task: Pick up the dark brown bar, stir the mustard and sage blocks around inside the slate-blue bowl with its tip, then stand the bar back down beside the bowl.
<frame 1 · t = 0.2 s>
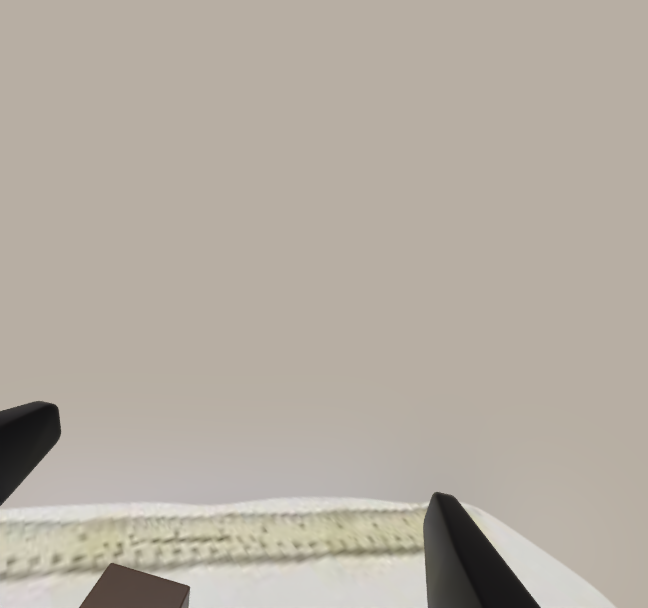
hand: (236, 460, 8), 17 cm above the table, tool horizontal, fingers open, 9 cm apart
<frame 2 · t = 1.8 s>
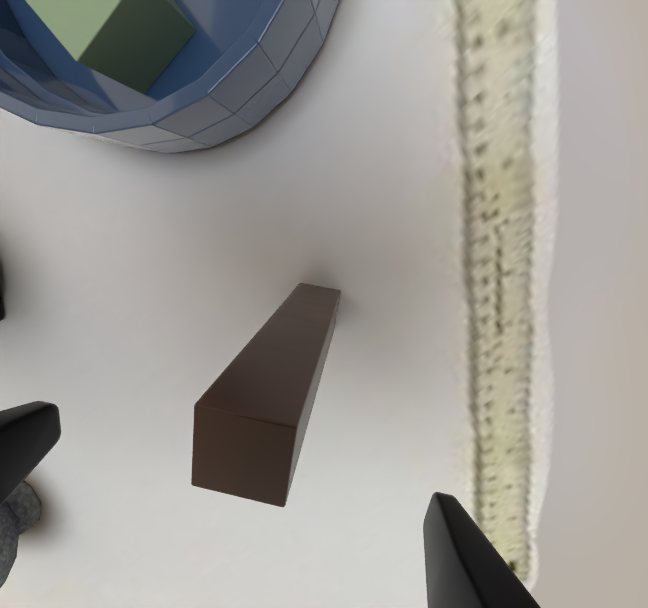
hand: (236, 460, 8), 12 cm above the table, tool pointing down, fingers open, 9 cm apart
dark brown bar: (317, 306, 19), on the table
mortar and pestle: (3, 495, 28), on the table
sage block: (140, 27, 15), point 1 cm above the table, touching bowl
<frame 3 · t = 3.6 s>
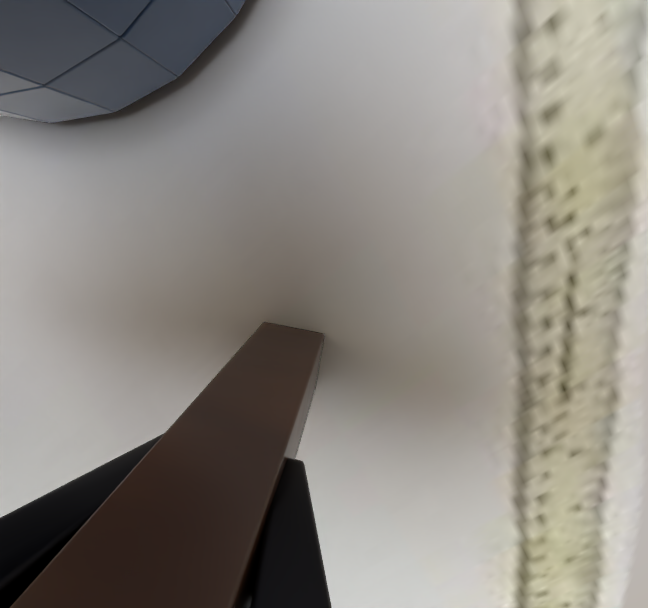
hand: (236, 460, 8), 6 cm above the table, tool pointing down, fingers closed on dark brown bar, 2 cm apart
dark brown bar: (290, 355, 13), on the table, touching gripper
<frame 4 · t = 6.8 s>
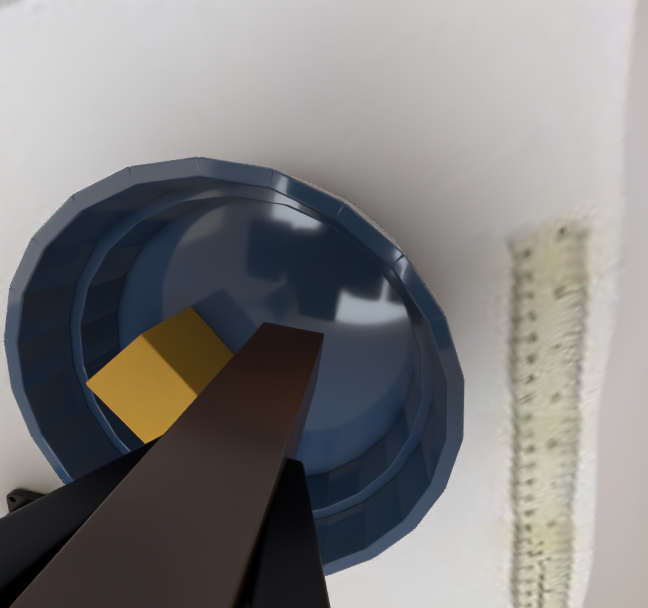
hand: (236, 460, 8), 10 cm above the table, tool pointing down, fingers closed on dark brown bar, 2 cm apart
dark brown bar: (290, 355, 13), point 4 cm above the table, touching gripper
bowl: (262, 352, 18), on the table
mustard block: (191, 354, 18), point 1 cm above the table, touching bowl
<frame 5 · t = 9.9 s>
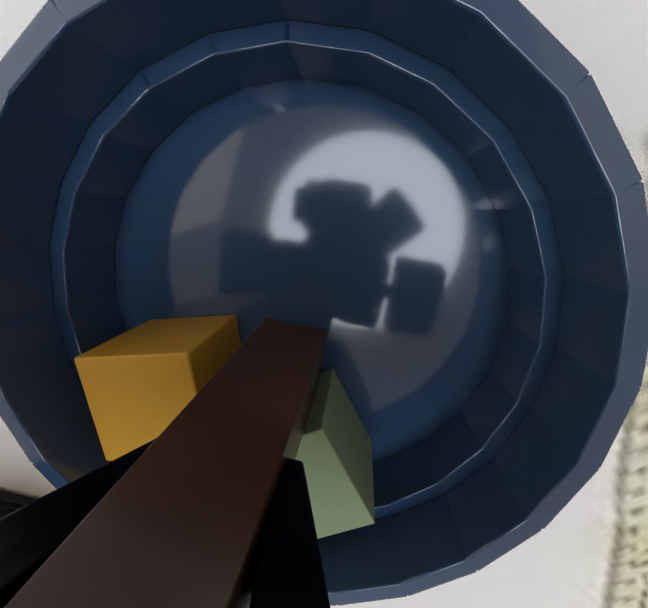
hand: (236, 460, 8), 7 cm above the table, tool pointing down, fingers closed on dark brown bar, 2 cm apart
dark brown bar: (292, 351, 13), point 2 cm above the table, touching gripper, sage block
bowl: (301, 301, 14), on the table
mustard block: (201, 359, 15), point 1 cm above the table, touching bowl
sage block: (312, 420, 15), point 1 cm above the table, touching bowl, dark brown bar
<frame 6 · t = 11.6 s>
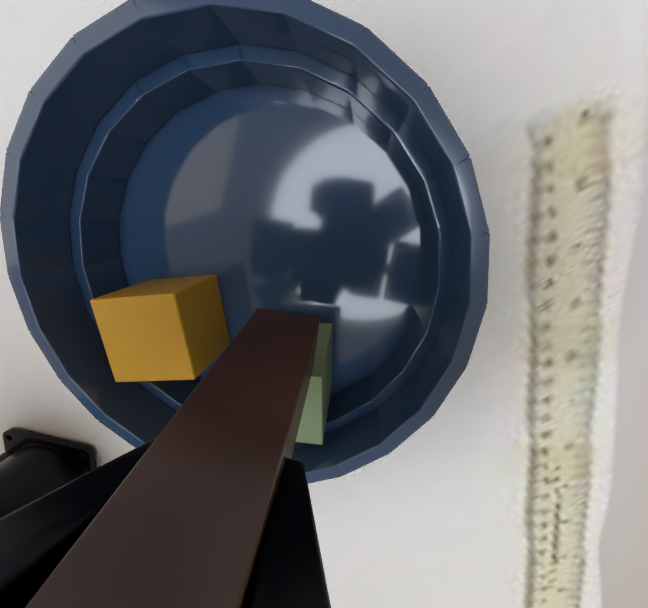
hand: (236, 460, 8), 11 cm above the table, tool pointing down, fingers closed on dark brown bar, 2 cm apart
dark brown bar: (285, 340, 13), point 5 cm above the table, touching gripper
bowl: (269, 263, 17), on the table
mustard block: (190, 312, 18), point 1 cm above the table, touching bowl
sage block: (295, 352, 17), point 1 cm above the table, tilted 12°, touching bowl
when the fingers open (5 cm above the table, at t = 15.6 s): dark brown bar stays where it is, on the table.
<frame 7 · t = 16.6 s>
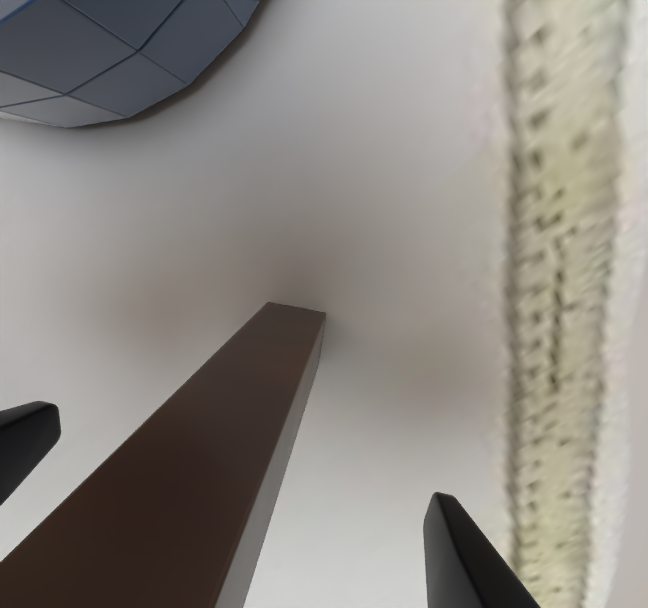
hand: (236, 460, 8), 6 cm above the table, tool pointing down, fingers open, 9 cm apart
dark brown bar: (293, 334, 13), on the table
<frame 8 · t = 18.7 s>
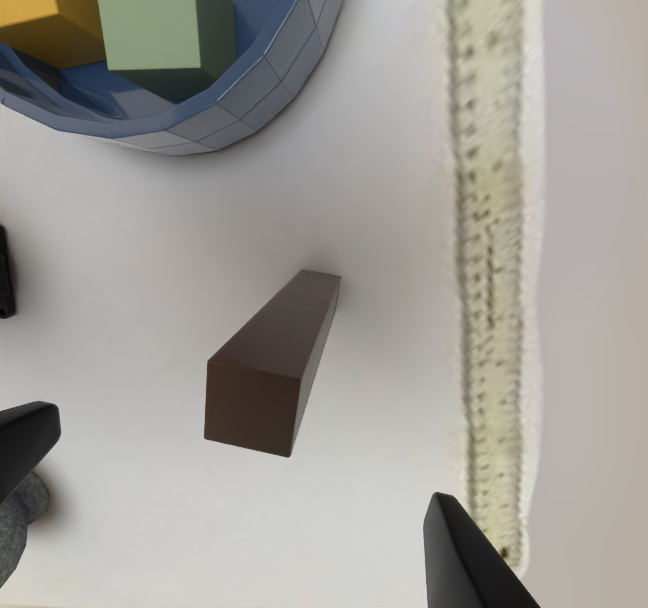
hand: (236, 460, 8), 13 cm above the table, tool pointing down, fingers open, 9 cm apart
dark brown bar: (318, 292, 20), on the table
mortar and pestle: (12, 486, 29), on the table
mustard block: (82, 17, 16), point 1 cm above the table, touching bowl
sage block: (198, 53, 16), point 1 cm above the table, touching bowl
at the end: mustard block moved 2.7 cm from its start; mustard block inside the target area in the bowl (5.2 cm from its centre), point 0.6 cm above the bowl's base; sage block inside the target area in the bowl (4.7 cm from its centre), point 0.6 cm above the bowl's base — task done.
